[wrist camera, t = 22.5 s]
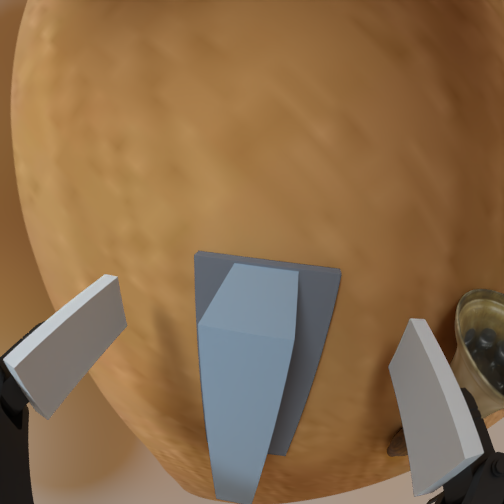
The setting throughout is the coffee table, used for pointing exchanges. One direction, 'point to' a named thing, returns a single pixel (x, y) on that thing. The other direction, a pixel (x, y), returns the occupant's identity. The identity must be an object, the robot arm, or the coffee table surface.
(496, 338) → the hand bell
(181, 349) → the coffee table surface
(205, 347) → the stick
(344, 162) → the coffee table surface
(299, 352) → the mat
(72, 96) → the coffee table surface
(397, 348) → the robot arm
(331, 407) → the coffee table surface
